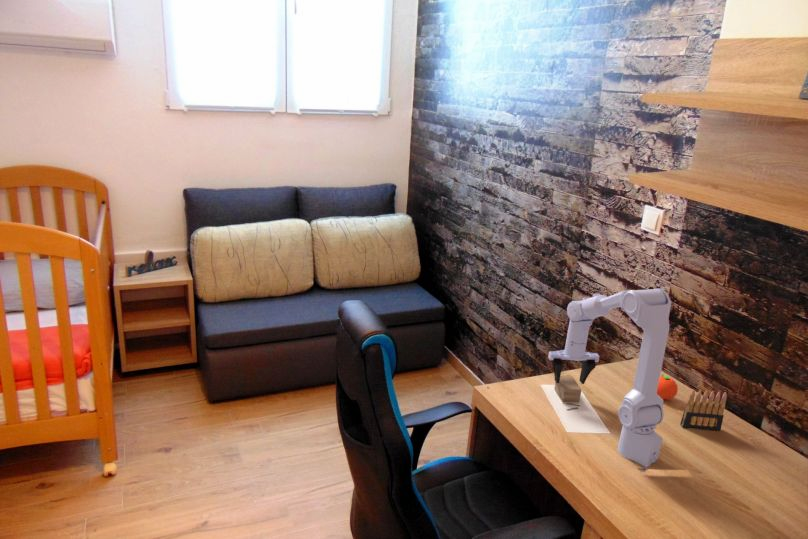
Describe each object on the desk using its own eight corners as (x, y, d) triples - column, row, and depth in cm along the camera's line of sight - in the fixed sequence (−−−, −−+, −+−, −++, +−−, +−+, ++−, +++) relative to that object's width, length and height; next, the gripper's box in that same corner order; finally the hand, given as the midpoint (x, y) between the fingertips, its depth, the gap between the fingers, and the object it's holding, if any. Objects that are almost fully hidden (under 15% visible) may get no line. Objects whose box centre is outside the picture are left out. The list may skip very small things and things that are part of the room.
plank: (609, 437, 164) (610, 433, 163) (566, 436, 163) (567, 432, 162) (577, 389, 188) (577, 385, 188) (539, 387, 187) (540, 384, 187)
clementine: (646, 389, 192) (651, 369, 189) (668, 391, 192) (673, 371, 189) (655, 402, 184) (660, 382, 182) (678, 404, 184) (683, 384, 182)
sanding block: (579, 403, 177) (581, 389, 176) (562, 403, 177) (564, 389, 176) (570, 390, 185) (572, 376, 184) (554, 389, 185) (556, 376, 183)
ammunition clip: (717, 427, 173) (727, 390, 169) (720, 431, 171) (730, 393, 168) (679, 424, 173) (689, 387, 169) (682, 428, 171) (692, 390, 168)
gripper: (595, 335, 180) (588, 376, 184) (548, 333, 178) (541, 374, 182) (604, 345, 173) (596, 387, 177) (555, 343, 172) (548, 386, 176)
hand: (569, 381), depth 179 cm, fingers open, 7 cm apart
